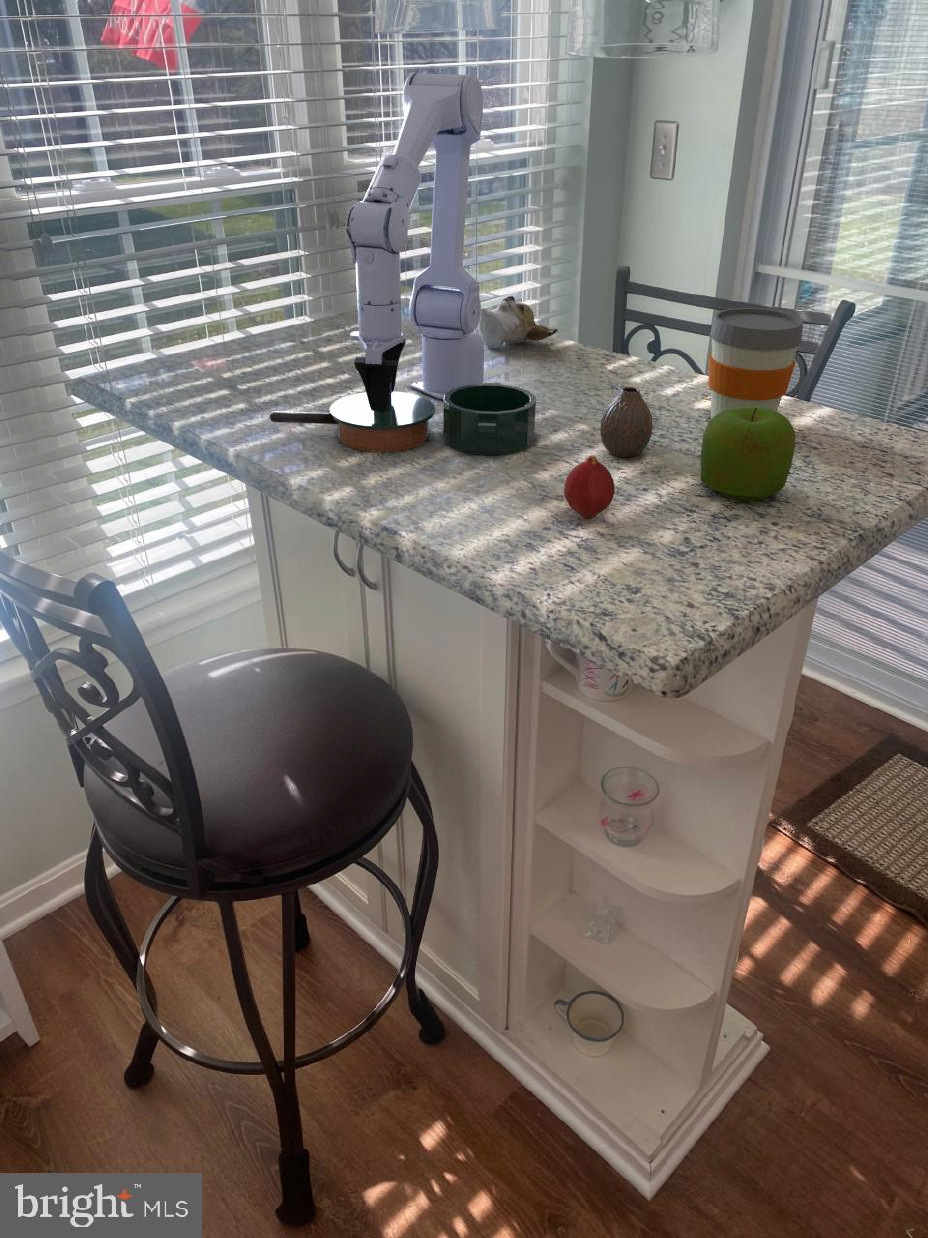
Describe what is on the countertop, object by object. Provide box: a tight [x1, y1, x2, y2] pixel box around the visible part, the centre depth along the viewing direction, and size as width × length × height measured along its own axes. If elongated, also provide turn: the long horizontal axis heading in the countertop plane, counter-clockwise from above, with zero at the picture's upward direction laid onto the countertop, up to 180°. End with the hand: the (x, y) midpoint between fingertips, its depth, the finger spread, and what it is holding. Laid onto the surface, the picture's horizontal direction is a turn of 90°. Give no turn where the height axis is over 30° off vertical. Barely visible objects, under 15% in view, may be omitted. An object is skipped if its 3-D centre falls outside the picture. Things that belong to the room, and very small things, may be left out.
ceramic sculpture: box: [477, 295, 559, 349], centre depth 178 cm, size 11×9×15 cm
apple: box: [700, 406, 796, 503], centre depth 121 cm, size 11×11×11 cm
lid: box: [329, 385, 436, 430], centre depth 136 cm, size 15×15×5 cm
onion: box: [563, 454, 616, 520], centre depth 114 cm, size 6×6×8 cm
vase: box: [600, 386, 654, 458], centre depth 132 cm, size 7×7×9 cm
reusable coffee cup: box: [708, 307, 804, 420], centre depth 142 cm, size 12×13×15 cm
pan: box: [336, 419, 430, 453], centre depth 138 cm, size 13×13×4 cm
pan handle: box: [269, 410, 337, 425], centre depth 138 cm, size 10×2×2 cm, turn 86°
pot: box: [442, 382, 537, 456], centre depth 137 cm, size 13×18×6 cm
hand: (382, 400), depth 136 cm, fingers open, 7 cm apart
